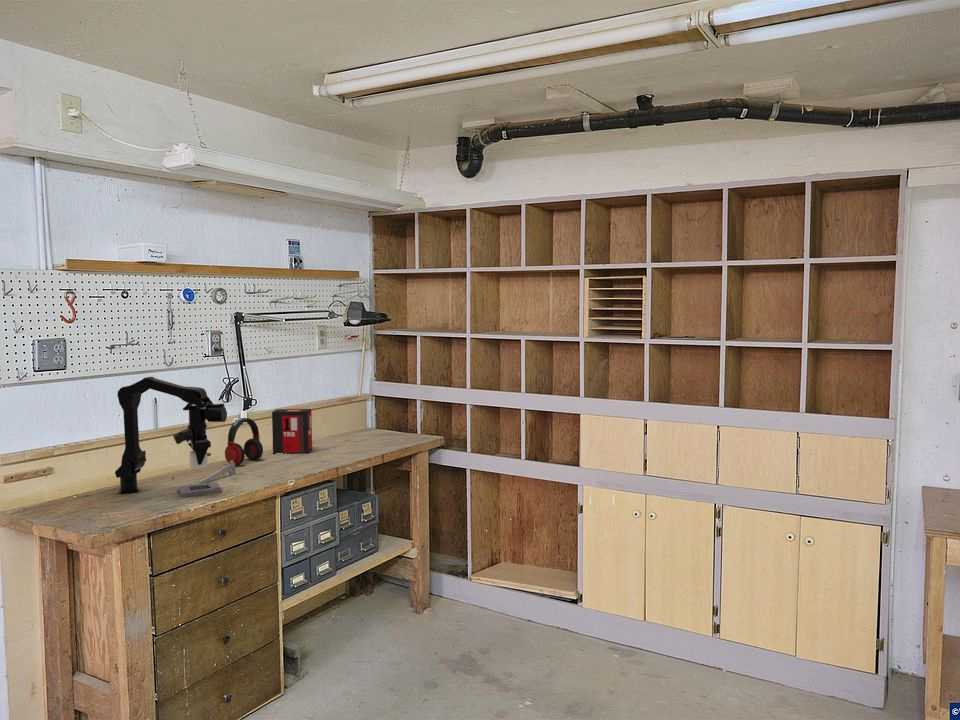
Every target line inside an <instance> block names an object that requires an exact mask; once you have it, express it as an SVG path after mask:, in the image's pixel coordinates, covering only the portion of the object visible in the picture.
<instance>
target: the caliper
mask: <svg viewBox="0 0 960 720" xmlns="http://www.w3.org/2000/svg"><path fill="white" fill-rule="evenodd" d="M236 467H237V466H235V463H234V462H233V460H231V462H230V461H229V463H228V464H227V465H225V466H223V467H221V468H220V469H219V470H217V471H216V472H214V473H212V474H210V475H208V476H206V477H205V478H203V479H201V480H199V482H198V483H197V484H203V483H209V481H211V480H213V479H215V478H217V477H218V476H221V475H226V474H229V476H233V475H236V474H237V471H236Z"/></svg>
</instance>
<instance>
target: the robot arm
mask: <svg viewBox="0 0 960 720" xmlns="http://www.w3.org/2000/svg"><path fill="white" fill-rule="evenodd" d="M149 390H153V391H156V392H160V393H164V394H166V395H170V396H174V397H177V398H179V399H181V400H182V401H183V402H185V403H186V405H185V406H184V407H183V408H182V411H188V425H187V428H186V429H183V430H181V431H178V432H176V433H174V434H172V438H173V439H174V442H175V443H176V444H177V445H178V444H179V445H180V444H182V443H183V442H186V443H187V445H188V446H189V447H190V448H191V449H192V451H195V453H196V457H197V462H198V465H201V464H202V462H203V459H204V457H205V454H206V452H207V453H208V450H209V448H211V447H212V442H211V441H210V440H209V439H208V435H207V428H208V426H207V424H206V421H207V422H209V423H225V422H226V421H227V417H228V411H227V408H226V406H225V403H215V404H214V403H213V401H212V400H211V398H210V397H209V396H208V393H207V391H206V389H205V388H203V387H196V386H184V385H180V384H177V383H172V382H169V381H166V380H163V379H159V378H155V377H154V376H146V377H143V378H142V379H141V380H139V381H137V382H135V383H132V384H131V385H126V386H122V387H120V388H119V389H118V391H117V400H118V403H119V405H120V407H121V409H122V412H123V427H124V430H123V431H124V447H125V448H124V451H123V454H122V456H121V462H120V466H119V467H118V468H117V469H116V470H115V471H114V474H115V477H116V478H119V484H120V487H119V489H118V492H119V494H120V495H121V494H127V493H129V494H131V493H137V492H140V489H139V487H138V474H139V473H140V472H141V471H142V468H143V467H144V466H145V465H146V462H147V455H146V454H147V451H146V450H142V448H141V447H140V432H139V416H138V415H139V414H138V413H139V411H138V408H139V406H140V403H141V398H142V394H144V393H146V392H147V391H149Z"/></svg>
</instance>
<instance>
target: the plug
mask: <svg viewBox="0 0 960 720" xmlns="http://www.w3.org/2000/svg"><path fill="white" fill-rule="evenodd" d="M211 454H212V453H211V452H208V451H207V452H206V454H205V457H204V459H203V462H202V464H201V465H198V462H197V457H196V453H195V451H193V450H190V451H189V466H190V469H191V470H198V469H199V470H200V469H208V467H209V466H208V465H209V464H208V457H211V456H212V455H211Z"/></svg>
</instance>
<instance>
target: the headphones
mask: <svg viewBox="0 0 960 720" xmlns="http://www.w3.org/2000/svg"><path fill="white" fill-rule="evenodd" d="M244 423H247V424H248V426H249V428H250V429H251V433H252V438H248V439H247V440H246V441H245V442H244V445H243V446H241V444H239V443H236V442H235V439H236V434H237V432H238V429H239V428H240V426H242V425H243V424H244ZM227 434H228V435H227V446H226V448H225V449H224V458H225V460H226V461H227V463H228V464H229V461H230V462H231V460H233V462H234V463H235V467H238V466H240V465H241V464H243V462H244V461H245V457H246V458H247V459H248V460H250V461H258V460H259V459H261V457H262V456H263V453H264V448H263V447H264V446H263V445H262V442H261V441H260V432H259V427H258V425H257V423H256V422H255V421H254V420H253V419H251V418H249V417H240V418H238V419H235V421H234V422H233V423H232V424H231V426H230V427H229V430H228V433H227Z"/></svg>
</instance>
